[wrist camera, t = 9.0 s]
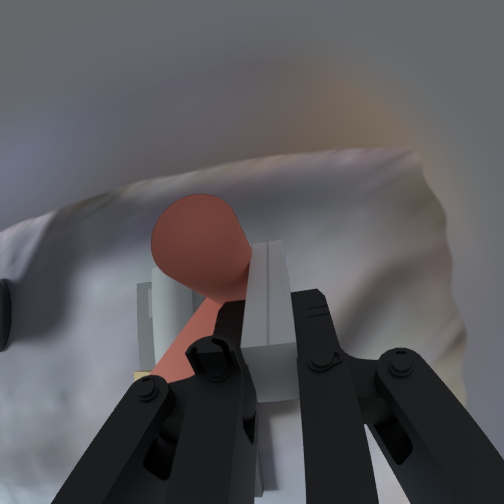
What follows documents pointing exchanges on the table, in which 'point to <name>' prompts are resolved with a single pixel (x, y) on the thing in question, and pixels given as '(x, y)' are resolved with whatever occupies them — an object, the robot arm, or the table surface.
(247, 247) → the lever
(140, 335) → the valve base
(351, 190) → the table surface
